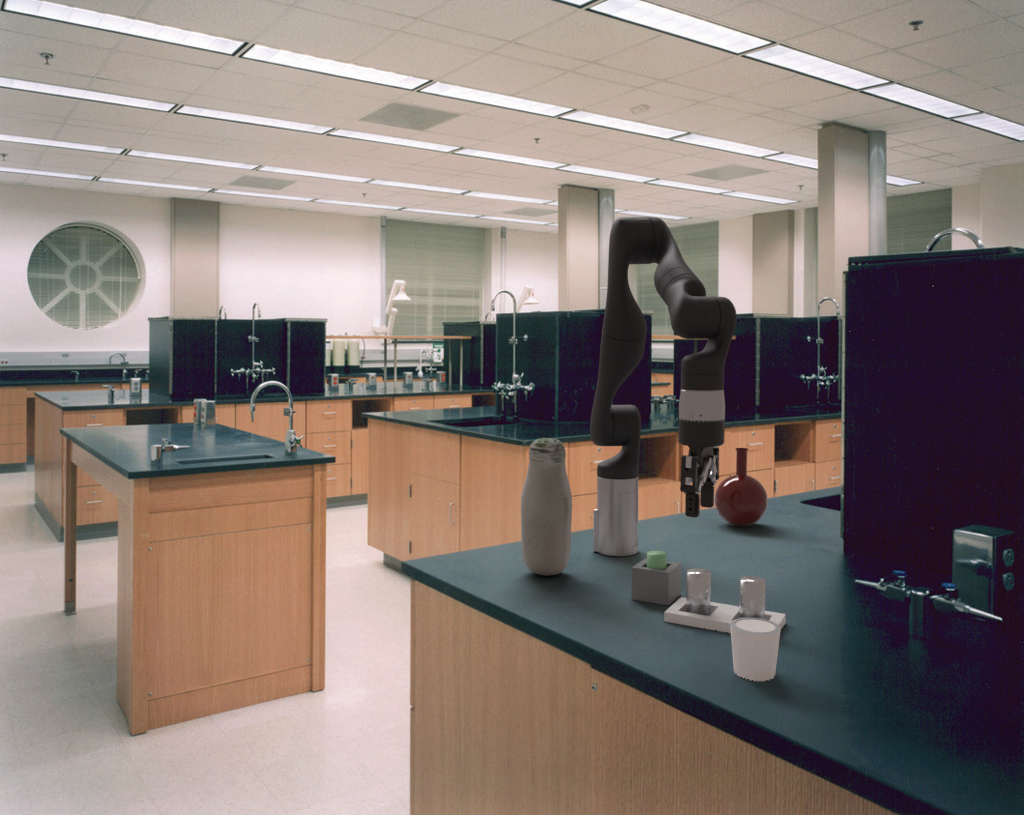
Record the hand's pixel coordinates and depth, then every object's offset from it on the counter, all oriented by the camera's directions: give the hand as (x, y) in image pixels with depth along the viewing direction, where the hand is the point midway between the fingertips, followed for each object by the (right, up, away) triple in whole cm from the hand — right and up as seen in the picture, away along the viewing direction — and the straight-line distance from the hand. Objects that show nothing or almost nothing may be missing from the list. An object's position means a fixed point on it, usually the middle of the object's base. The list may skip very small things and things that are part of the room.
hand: (699, 511), depth 132 cm
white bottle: (-25, -17, +27) cm, 40 cm away
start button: (-5, -15, +12) cm, 20 cm away
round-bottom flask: (+27, -13, +69) cm, 75 cm away
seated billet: (+8, -19, -3) cm, 21 cm away
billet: (0, -18, +2) cm, 19 cm away
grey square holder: (-5, -18, +13) cm, 22 cm away
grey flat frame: (+4, -19, -1) cm, 19 cm away
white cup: (+3, -20, -21) cm, 29 cm away
